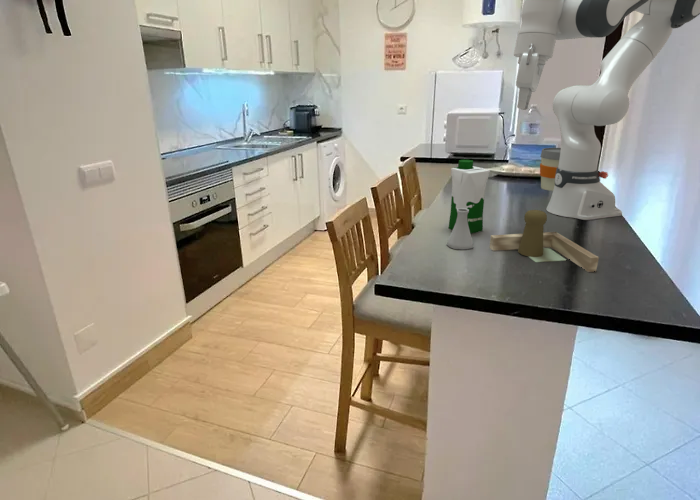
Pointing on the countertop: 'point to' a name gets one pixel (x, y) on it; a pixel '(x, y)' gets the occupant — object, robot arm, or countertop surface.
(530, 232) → the cork
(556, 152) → the reusable coffee cup
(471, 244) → the flask
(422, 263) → the countertop surface
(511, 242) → the corner arena
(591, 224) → the countertop surface
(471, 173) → the milk carton
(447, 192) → the countertop surface
